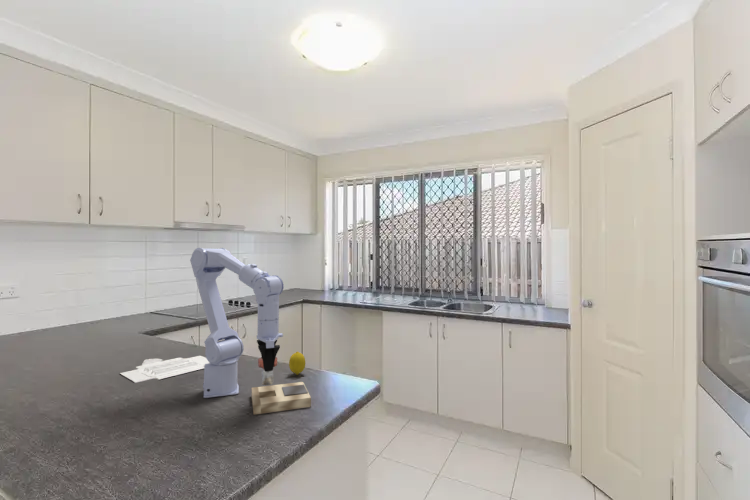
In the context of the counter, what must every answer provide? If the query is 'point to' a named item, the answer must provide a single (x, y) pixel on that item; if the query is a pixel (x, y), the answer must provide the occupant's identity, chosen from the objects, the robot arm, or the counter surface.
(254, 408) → the board
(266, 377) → the peg
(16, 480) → the counter surface
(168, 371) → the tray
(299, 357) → the lemon
